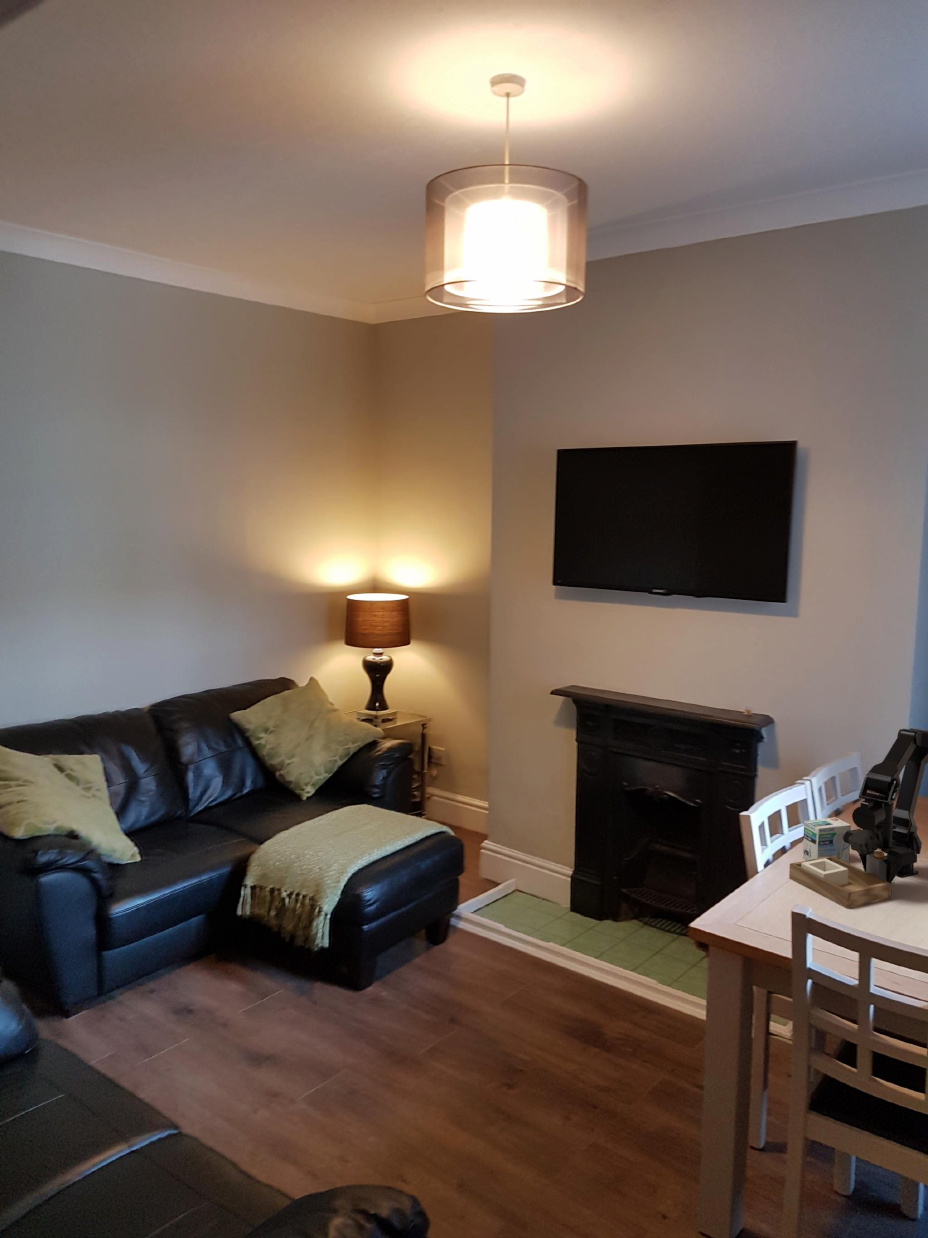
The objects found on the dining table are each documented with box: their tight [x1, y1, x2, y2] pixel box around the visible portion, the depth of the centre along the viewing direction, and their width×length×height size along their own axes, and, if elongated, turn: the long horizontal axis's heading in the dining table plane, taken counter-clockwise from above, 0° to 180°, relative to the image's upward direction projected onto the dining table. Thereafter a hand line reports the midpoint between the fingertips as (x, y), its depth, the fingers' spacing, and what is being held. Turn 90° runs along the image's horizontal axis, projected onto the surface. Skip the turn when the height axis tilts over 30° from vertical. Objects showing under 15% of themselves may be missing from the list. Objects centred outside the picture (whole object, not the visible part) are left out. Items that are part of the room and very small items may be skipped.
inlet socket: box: [801, 858, 848, 886], centre depth 236 cm, size 8×8×4 cm
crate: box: [788, 856, 892, 909], centre depth 233 cm, size 14×20×4 cm
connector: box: [866, 850, 888, 881], centre depth 233 cm, size 4×4×9 cm
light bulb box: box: [802, 817, 852, 864], centre depth 251 cm, size 11×7×11 cm, turn 105°
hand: (877, 878), depth 234 cm, fingers open, 7 cm apart
